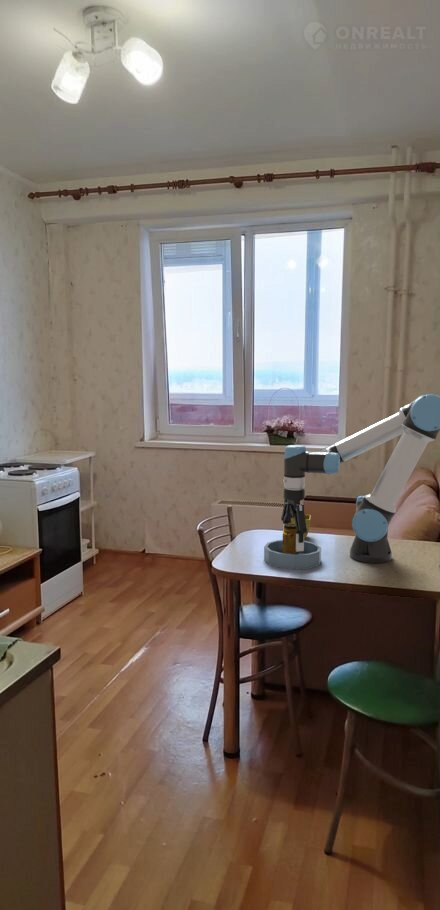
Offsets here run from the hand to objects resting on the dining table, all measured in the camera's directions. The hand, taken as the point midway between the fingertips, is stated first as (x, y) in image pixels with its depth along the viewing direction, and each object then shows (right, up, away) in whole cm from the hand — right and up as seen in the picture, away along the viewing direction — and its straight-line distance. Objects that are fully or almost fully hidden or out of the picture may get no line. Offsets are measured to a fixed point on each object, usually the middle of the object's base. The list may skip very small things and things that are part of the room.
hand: (293, 546), depth 212 cm
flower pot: (+7, -2, +33) cm, 34 cm away
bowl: (0, -5, +1) cm, 5 cm away
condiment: (0, -4, 0) cm, 4 cm away
